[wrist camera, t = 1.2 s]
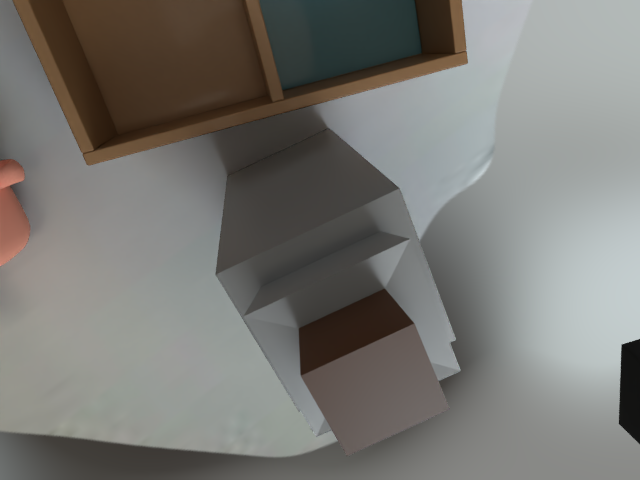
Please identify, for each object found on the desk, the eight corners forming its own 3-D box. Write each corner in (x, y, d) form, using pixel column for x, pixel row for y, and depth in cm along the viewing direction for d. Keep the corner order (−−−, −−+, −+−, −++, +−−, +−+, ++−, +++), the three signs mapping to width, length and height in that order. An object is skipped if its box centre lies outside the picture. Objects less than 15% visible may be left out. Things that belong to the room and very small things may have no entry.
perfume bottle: (227, 176, 28) (205, 355, 11) (329, 128, 28) (457, 238, 11) (275, 266, 30) (315, 517, 14) (368, 223, 30) (519, 424, 14)
